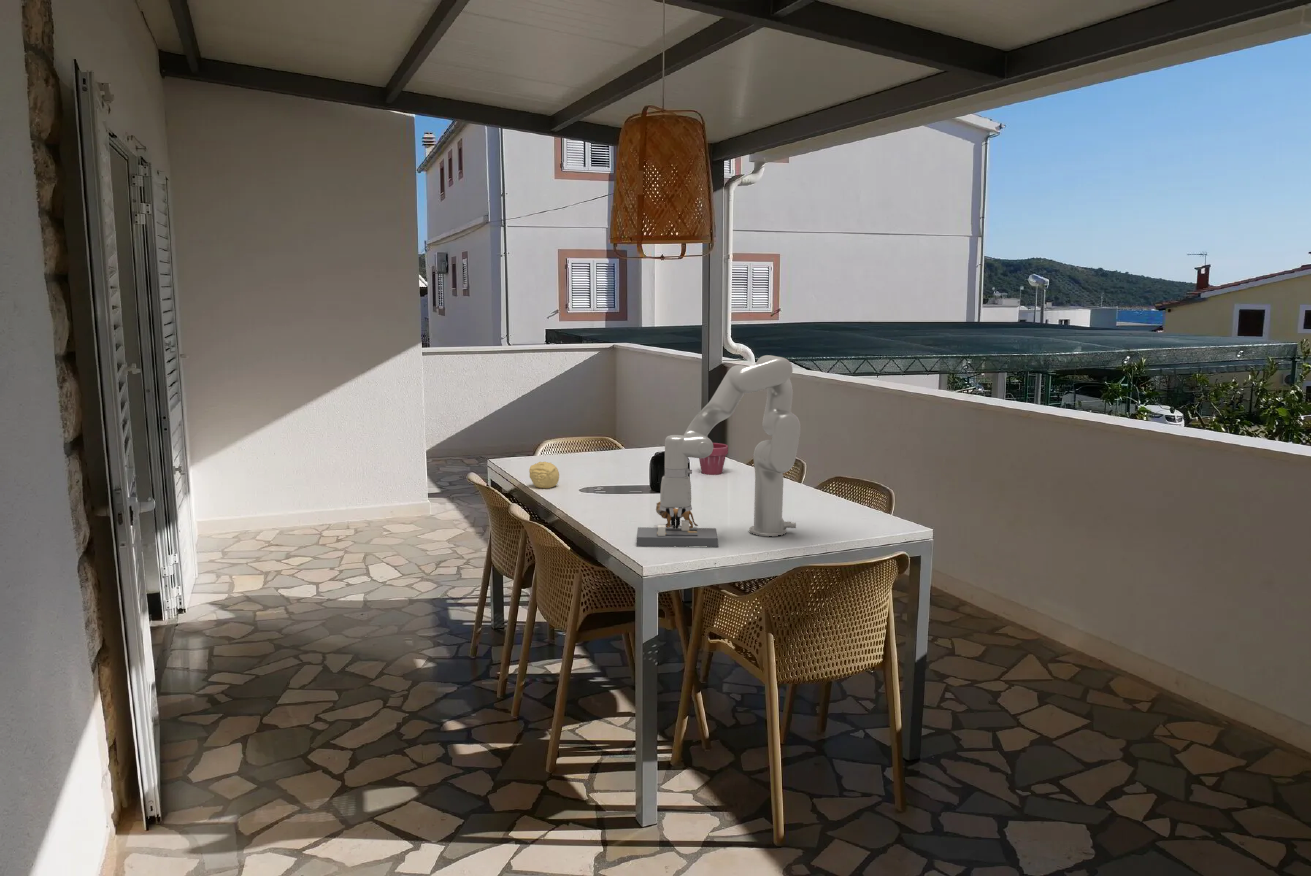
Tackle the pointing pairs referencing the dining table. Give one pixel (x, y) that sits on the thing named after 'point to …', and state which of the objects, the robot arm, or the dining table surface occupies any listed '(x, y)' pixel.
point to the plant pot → (714, 460)
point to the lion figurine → (668, 517)
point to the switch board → (677, 537)
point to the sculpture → (544, 475)
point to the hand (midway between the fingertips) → (675, 527)
